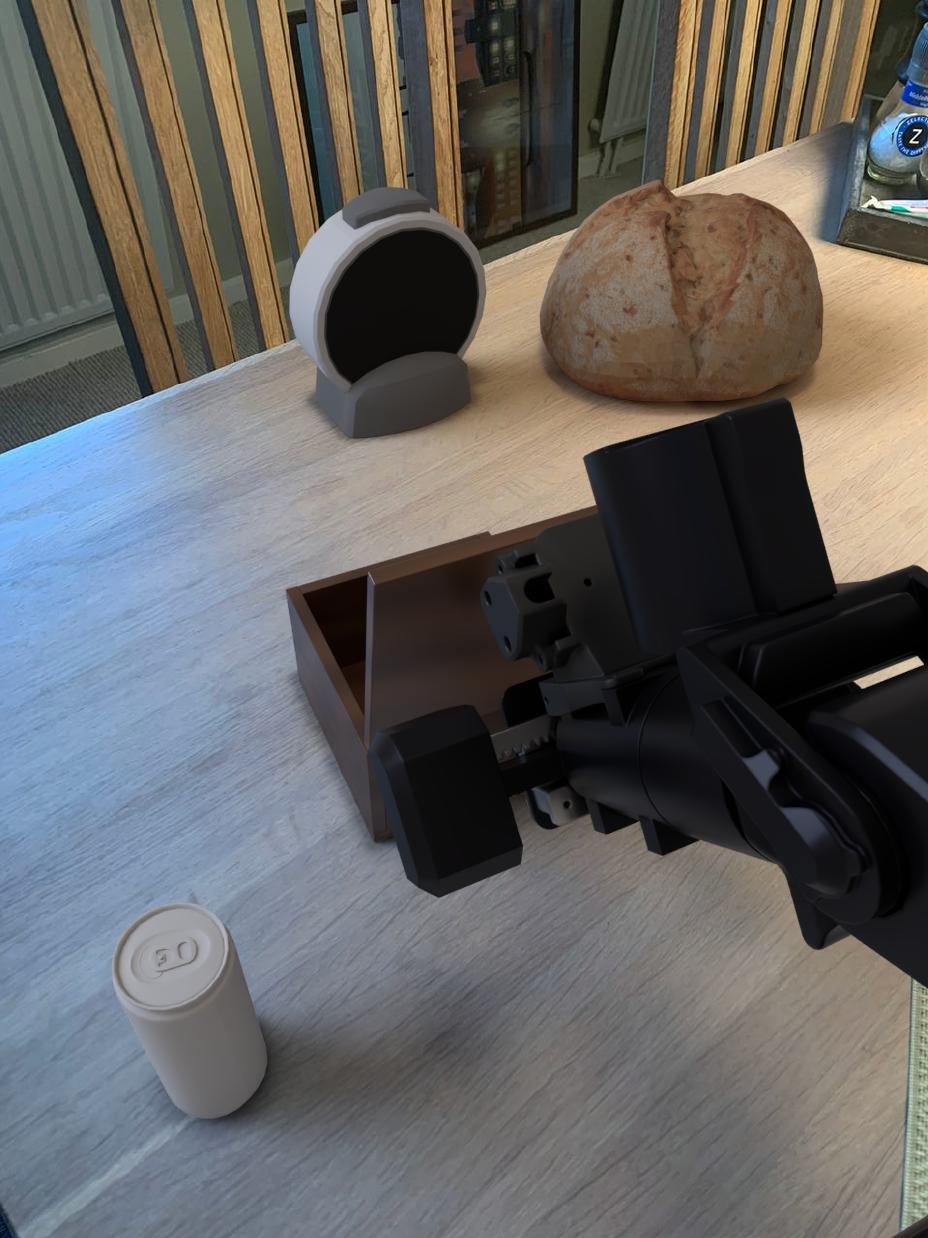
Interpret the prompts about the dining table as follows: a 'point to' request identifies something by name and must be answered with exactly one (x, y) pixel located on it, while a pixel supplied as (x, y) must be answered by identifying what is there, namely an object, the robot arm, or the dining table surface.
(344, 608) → the box
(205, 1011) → the beverage can
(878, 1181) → the dining table surface
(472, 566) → the lid
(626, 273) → the bread
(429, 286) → the alarm clock
